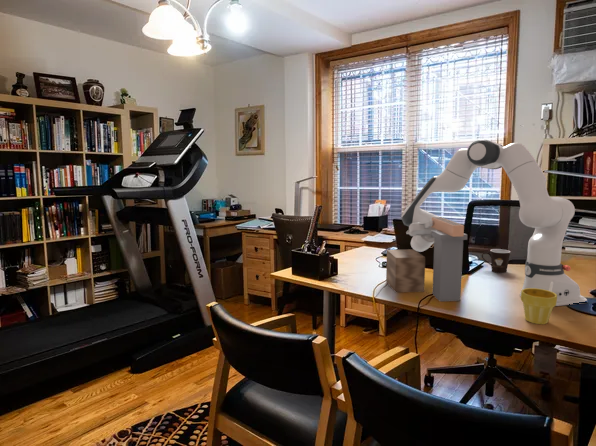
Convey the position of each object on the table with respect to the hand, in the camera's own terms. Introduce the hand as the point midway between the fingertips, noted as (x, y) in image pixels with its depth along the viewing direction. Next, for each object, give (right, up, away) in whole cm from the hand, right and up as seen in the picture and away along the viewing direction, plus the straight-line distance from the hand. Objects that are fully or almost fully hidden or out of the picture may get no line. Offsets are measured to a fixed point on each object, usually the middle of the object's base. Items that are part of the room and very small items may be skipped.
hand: (439, 222), depth 170 cm
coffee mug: (+38, -24, +32) cm, 55 cm away
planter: (0, -4, -7) cm, 8 cm away
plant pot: (+23, -33, -30) cm, 50 cm away
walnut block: (-12, -28, +9) cm, 31 cm away
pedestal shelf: (+1, -30, -6) cm, 30 cm away
